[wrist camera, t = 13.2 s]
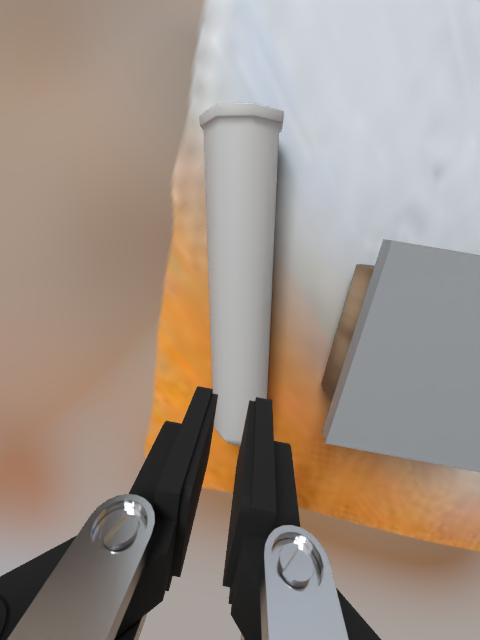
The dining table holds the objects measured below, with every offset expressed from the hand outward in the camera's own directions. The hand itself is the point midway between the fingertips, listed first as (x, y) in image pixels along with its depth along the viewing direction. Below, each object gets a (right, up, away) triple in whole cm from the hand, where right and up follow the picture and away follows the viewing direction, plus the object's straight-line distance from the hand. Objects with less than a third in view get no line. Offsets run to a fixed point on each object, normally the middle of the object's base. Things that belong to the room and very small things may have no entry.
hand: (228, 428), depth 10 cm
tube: (+1, +6, +15) cm, 16 cm away
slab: (+13, +1, +9) cm, 16 cm away
